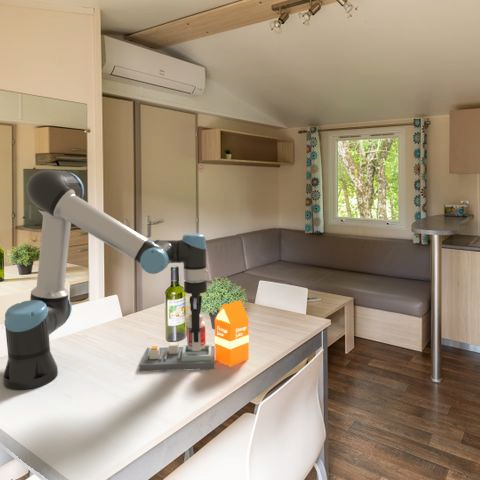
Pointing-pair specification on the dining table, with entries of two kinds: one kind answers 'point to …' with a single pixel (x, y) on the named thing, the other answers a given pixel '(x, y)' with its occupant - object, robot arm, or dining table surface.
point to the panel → (180, 359)
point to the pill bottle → (202, 332)
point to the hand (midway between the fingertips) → (196, 346)
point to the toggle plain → (173, 348)
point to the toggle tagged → (154, 352)
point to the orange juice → (232, 334)
